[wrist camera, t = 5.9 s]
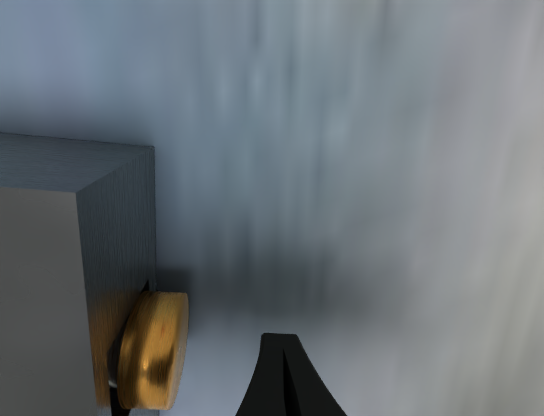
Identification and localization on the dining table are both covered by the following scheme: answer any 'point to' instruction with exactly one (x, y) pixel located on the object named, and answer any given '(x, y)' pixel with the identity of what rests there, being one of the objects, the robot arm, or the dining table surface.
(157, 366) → the lynch pin
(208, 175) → the dining table surface
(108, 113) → the dining table surface
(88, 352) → the hitch beam
